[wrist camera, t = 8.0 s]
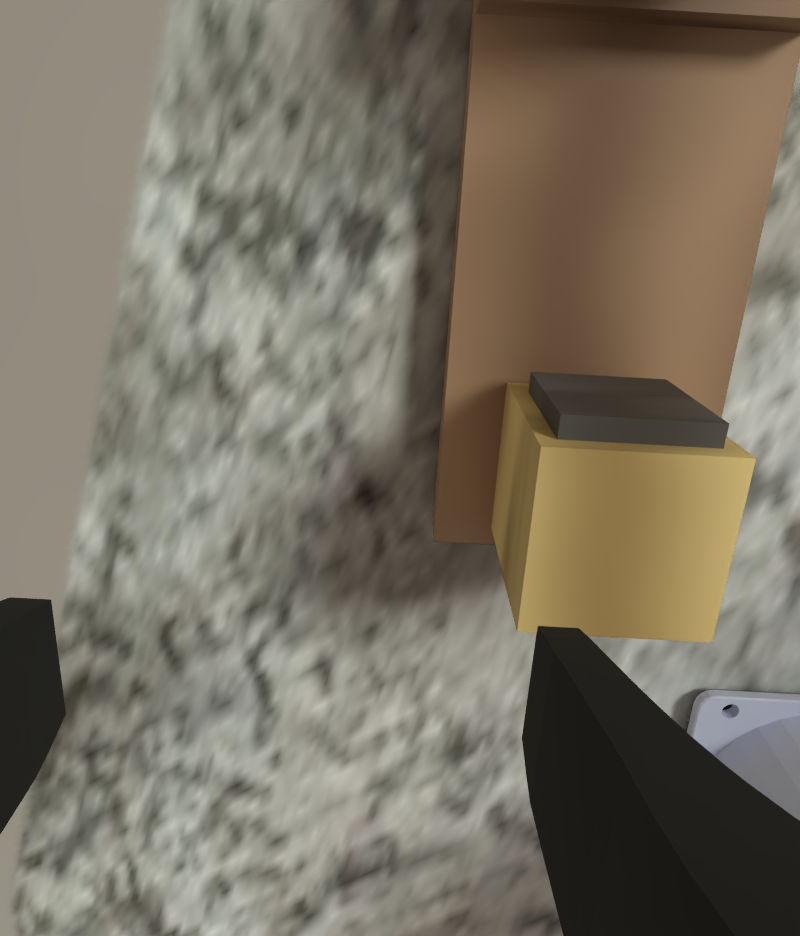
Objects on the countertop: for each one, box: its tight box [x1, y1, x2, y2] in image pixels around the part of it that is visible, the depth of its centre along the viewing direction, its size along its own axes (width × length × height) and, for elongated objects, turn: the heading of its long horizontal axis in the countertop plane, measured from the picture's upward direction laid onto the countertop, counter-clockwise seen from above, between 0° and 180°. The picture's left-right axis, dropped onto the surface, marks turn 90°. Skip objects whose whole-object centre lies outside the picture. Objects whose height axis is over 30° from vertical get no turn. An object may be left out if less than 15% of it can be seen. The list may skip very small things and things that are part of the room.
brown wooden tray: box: [433, 0, 800, 642], centre depth 14 cm, size 7×20×6 cm, turn 177°
